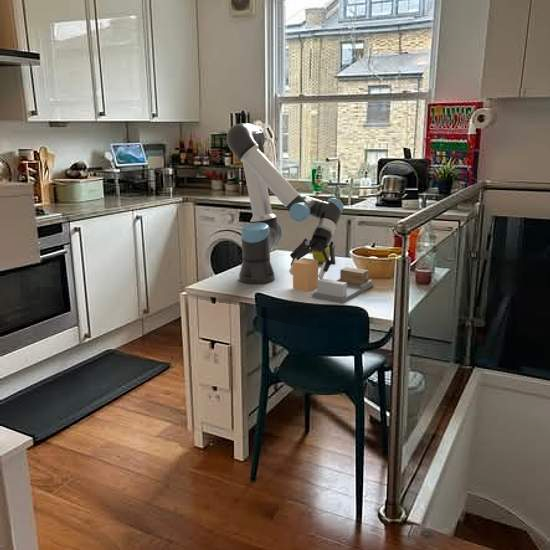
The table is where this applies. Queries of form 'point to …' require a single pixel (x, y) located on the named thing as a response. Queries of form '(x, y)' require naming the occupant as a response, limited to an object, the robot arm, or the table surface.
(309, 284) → the block
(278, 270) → the table surface
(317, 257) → the lemon
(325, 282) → the vise
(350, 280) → the block
